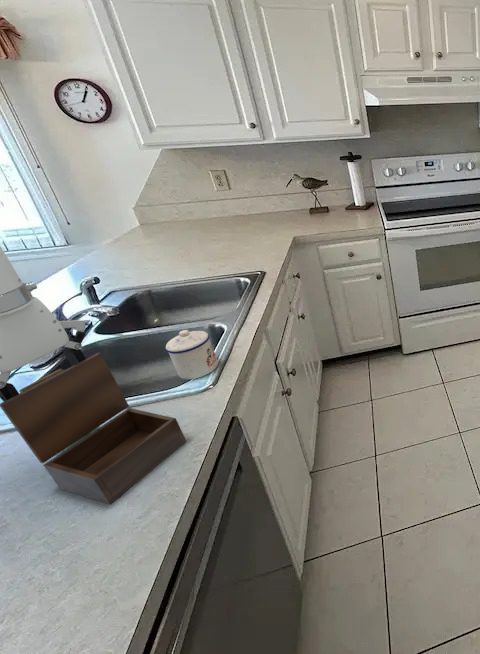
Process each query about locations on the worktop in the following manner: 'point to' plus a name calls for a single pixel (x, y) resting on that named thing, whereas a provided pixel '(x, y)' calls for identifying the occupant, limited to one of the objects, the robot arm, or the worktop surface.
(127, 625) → the worktop surface
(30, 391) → the lid
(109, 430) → the chest
